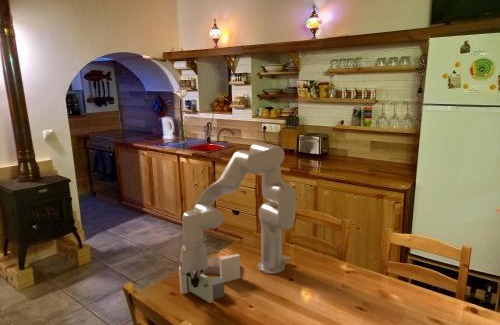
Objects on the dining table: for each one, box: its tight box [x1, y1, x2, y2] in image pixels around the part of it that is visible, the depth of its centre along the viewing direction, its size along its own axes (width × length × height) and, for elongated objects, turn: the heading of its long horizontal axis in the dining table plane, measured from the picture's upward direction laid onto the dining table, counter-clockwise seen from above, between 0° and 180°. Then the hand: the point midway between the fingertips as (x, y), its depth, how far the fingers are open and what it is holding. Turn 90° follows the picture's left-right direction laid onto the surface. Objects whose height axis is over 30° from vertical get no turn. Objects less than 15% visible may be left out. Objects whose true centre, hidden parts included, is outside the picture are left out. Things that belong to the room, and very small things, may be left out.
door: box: [186, 271, 214, 304], centre depth 146 cm, size 15×3×10 cm, turn 48°
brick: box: [202, 256, 220, 275], centre depth 168 cm, size 17×8×5 cm, turn 88°
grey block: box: [210, 275, 225, 301], centre depth 148 cm, size 5×5×6 cm
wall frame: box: [178, 253, 241, 295], centre depth 154 cm, size 27×2×12 cm, turn 116°
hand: (195, 285), depth 142 cm, fingers closed
